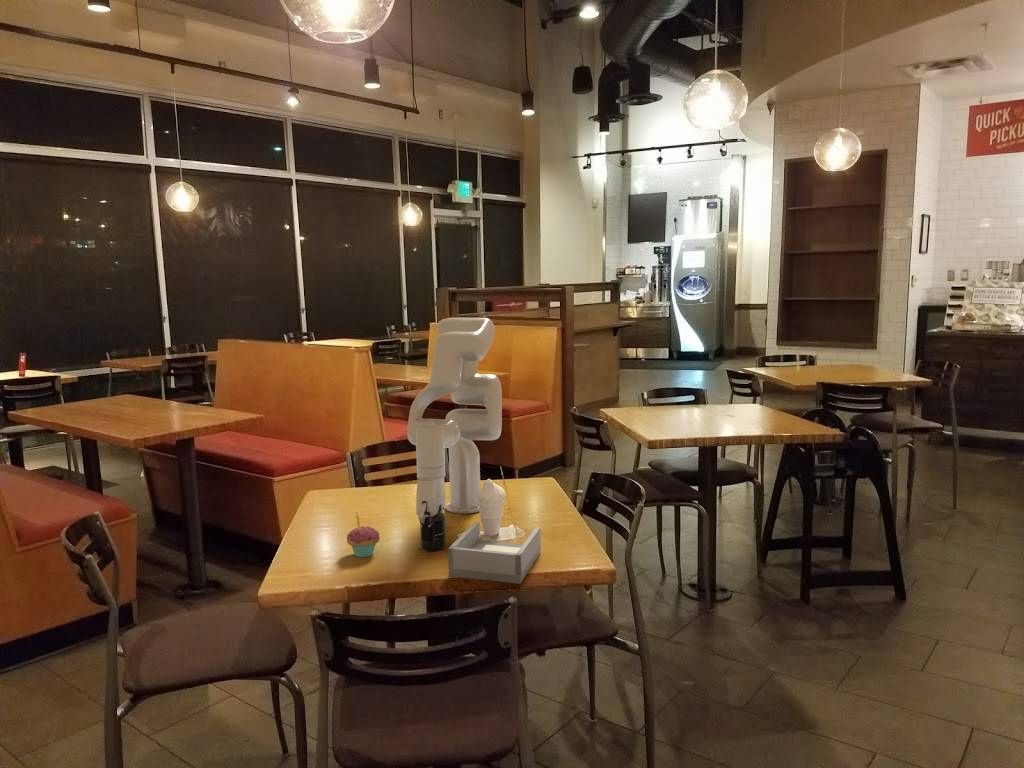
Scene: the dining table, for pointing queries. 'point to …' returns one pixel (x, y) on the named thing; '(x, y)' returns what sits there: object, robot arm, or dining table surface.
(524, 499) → the dining table surface
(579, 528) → the dining table surface
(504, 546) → the dock
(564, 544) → the dining table surface
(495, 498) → the soft serve ice cream cone
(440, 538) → the supplement bottle
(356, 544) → the cupcake
